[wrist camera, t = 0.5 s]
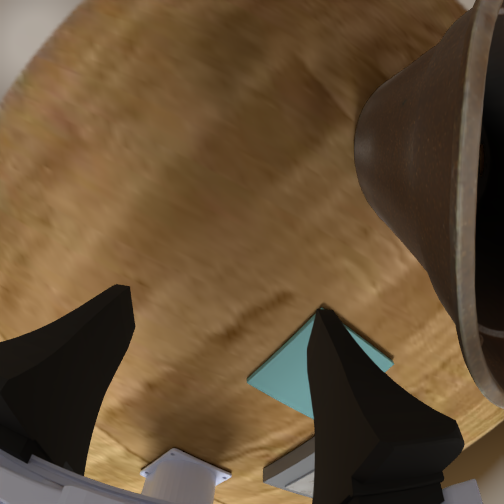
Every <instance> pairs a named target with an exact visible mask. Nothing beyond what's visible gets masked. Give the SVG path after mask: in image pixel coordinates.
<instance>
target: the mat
mask: <svg viewBox="0 0 504 504" xmlns="http://www.w3.org/2000/svg"><path fill="white" fill-rule="evenodd" d="M320 309H324V308H322V307H321V308H320ZM315 315H316V314H315ZM315 315H314V316H313V317H312V318H311V319H310V320H309V321H308V322H307V323H306V324H305V325H304V326H303V327H302V328H301V329H300V330H299V331H298V332H296V333H295V334H294V335H293V336H292V337H291V338H290V339H289V340H288V341H287V342H286V343H285V344H284V345H283V346H282V347H281V348H280V349H279V350H278V351H277V352H276V353H275V354H274V355H272V356H271V357H270V358H269V359H268V360H267V361H266V362H265V363H264V364H263V365H262V366H261V367H260V368H258V369H257V370H256V371H255V372H254V373H253V374H252V375H251V376H250V377H249V378H247V383H248V384H250V385H251V386H253V387H255V388H257V389H258V390H260V391H262V392H264V393H265V394H267V395H269V396H271V397H273V398H274V399H276V400H278V401H280V402H282V403H284V404H285V405H287V406H289V407H291V408H293V409H295V410H297V411H299V412H301V413H302V414H304V415H306V416H308V417H310V418H312V419H314V416H313V409H312V402H311V395H310V389H309V381H308V374H307V346H308V342H309V338H310V335H311V331H312V327H313V323H314V319H315ZM343 325H344V326H345V327H346V329H347V330H348V331H349V333H350V334H351V335H352V337H353V338H354V339H355V341H356V342H357V343H358V344H359V346H360V347H361V348H362V349H363V350H364V352H365V353H366V354H367V355H368V356H369V357H370V358H371V359H372V360H373V362H374V363H375V364H376V365H377V366H378V367H379V368H380V369H381V370H382V371H383V372H384V373H385V372H386V371H387V370H388V369H389V368H390V367H391V366H393V365H394V363H393V361H392V360H391V359H390V358H388V357H387V356H386V355H384V354H383V353H382V352H380V351H379V350H378V349H376V348H375V347H374V346H372V345H371V344H370V343H368V342H367V341H366V340H364V339H363V338H362V337H360V336H359V335H358V334H357V333H355V332H354V331H353V330H351V329H350V328H349V327H347V326H346V325H345V324H343Z"/></svg>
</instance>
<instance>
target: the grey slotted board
mask: <svg viewBox="0 0 504 504" xmlns="http://www.w3.org/2000/svg"><path fill="white" fill-rule="evenodd" d="M314 467H315V436H314V437H313V438H312V439H310V440H309V441H307V442H306V443H304V444H303V445H301V446H300V447H298V448H296V449H295V450H293V451H292V452H290V453H289V454H287V455H285V456H284V457H282V458H281V459H279V460H277V461H276V462H274V463H272V464H271V465H269V466H267V467H265V468H264V469H263V483H266V484H269V485H272V486H275V487H278V488H281V489H284V490H287V491H290V492H293V493H297V494H300V495H303V496H307V497H311V498H313V488H314Z"/></svg>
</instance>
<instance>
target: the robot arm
mask: <svg viewBox="0 0 504 504" xmlns="http://www.w3.org/2000/svg"><path fill="white" fill-rule="evenodd" d="M134 330H135V321H134V314H133V307H132V299H131V292H130V286H125V285H118V284H116V285H114V286H112V287H110V288H108V289H107V290H105V291H104V292H102V293H100V294H99V295H97V296H96V297H94V298H93V299H91V300H90V301H88V302H86V303H85V304H83V305H82V306H80V307H79V308H77V309H75V310H73V311H72V312H70V313H68V314H67V315H65V316H63V317H61V318H60V319H58V320H56V321H54V322H52V323H50V324H48V325H46V326H44V327H42V328H40V329H37V330H35V331H32V332H30V333H27V334H24V335H22V336H19V337H16V338H13V339H10V340H6V341H3V342H0V504H213V500H214V492H215V486H216V485H218V484H220V483H221V482H223V481H225V480H227V479H229V478H231V473H229V472H227V471H224V470H222V469H220V468H217V467H215V466H213V465H210V464H208V463H206V462H204V461H201V460H199V459H197V458H195V457H193V456H191V455H189V454H187V453H185V452H183V451H181V450H179V449H176V448H172V449H170V450H169V451H168V452H166V453H165V454H164V455H162V456H161V457H160V458H158V459H157V460H156V461H154V462H153V463H151V464H150V465H149V466H147V467H146V468H144V469H143V470H141V471H140V474H141V475H142V476H144V477H146V480H145V483H144V486H143V490H142V493H141V494H138V493H134V492H131V491H127V490H124V489H120V488H117V487H114V486H110V485H107V484H104V483H101V482H98V481H95V480H93V479H90V478H87V477H84V472H85V466H86V460H87V454H88V450H89V445H90V441H91V437H92V433H93V429H94V426H95V422H96V419H97V416H98V413H99V410H100V407H101V404H102V401H103V398H104V395H105V393H106V391H107V389H108V387H109V385H110V383H111V381H112V379H113V377H114V375H115V373H116V371H117V369H118V367H119V365H120V363H121V361H122V359H123V357H124V355H125V353H126V351H127V349H128V347H129V344H130V341H131V339H132V336H133V333H134ZM307 374H308V381H309V389H310V395H311V402H312V409H313V416H314V427H315V467H314V488H313V501H312V504H483V503H482V499H481V496H480V492H479V489H478V485H477V482H476V480H475V479H471V480H468V481H465V482H462V483H458V484H454V485H451V486H449V487H447V488H444V489H443V490H442V488H441V484H440V482H442V481H443V480H444V476H443V472H442V471H443V470H444V469H445V468H446V467H447V466H448V465H449V464H450V463H451V462H452V461H453V460H454V459H455V458H457V456H458V455H459V454H460V453H461V451H462V449H463V447H464V440H463V437H462V435H461V432H460V429H459V427H458V424H457V422H456V420H454V419H452V418H450V417H448V416H446V415H444V414H442V413H440V412H438V411H436V410H434V409H432V408H431V407H429V406H428V405H426V404H424V403H423V402H421V401H420V400H418V399H417V398H415V397H414V396H412V395H411V394H410V393H408V392H407V391H406V390H404V389H403V388H402V387H400V386H399V385H398V384H397V383H396V382H394V381H393V380H392V379H391V378H390V377H389V376H388V375H387V374H386V373H384V372H383V371H382V370H381V369H380V368H379V367H378V366H377V365H376V364H375V363H374V362H373V360H372V359H371V358H370V357H369V356H368V355H367V354H366V353H365V352H364V350H363V349H362V348H361V347H360V346H359V344H358V343H357V342H356V341H355V339H354V338H353V337H352V335H351V334H350V333H349V331H348V330H347V329H346V327H345V326H344V325H343V323H342V322H341V320H340V319H339V318H338V316H337V315H336V314H335V312H334V311H333V310H326V309H317V311H316V315H315V319H314V323H313V327H312V331H311V335H310V338H309V342H308V346H307Z"/></svg>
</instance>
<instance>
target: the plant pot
mask: <svg viewBox="0 0 504 504" xmlns="http://www.w3.org/2000/svg"><path fill="white" fill-rule="evenodd" d="M480 144H483V146H484V154H485V155H484V171H483V174H482V177H481V176H480V172H479V164H480V159H479V155H480V152H479V146H480ZM354 157H355V166H356V172H357V176H358V180H359V184H360V187H361V189H362V191H363V194H364V196H365V198H366V200H367V202H368V203H369V204H370V206H371V207H372V208H373V210H374V211H375V213H376V214H377V215H378V216H379V217H380V219H381V220H382V221H384V222H385V223H386V224H387V226H388V227H389V228H390V229H391V230H392V231H393V232H394V233H395V235H396V236H397V237H398V238H399V239H400V240H401V241H402V242H403V244H404V245H405V246H406V247H407V248H408V249H409V250H410V252H411V253H412V254H413V255H414V256H415V258H416V259H417V260H418V261H419V263H420V264H421V265H422V266H423V267H424V269H425V270H426V271H427V272H428V275H429V277H430V280H431V282H432V285H433V287H434V290H435V292H436V294H437V296H438V298H439V300H440V301H441V303H442V305H443V306H444V308H445V309H446V311H447V312H448V314H449V315H450V317H451V318H452V320H453V321H454V323H455V325H456V330H457V335H458V340H459V344H460V347H461V351H462V354H463V358H464V361H465V363H466V366H467V368H468V370H469V372H470V374H471V376H472V378H473V380H474V382H475V383H476V385H477V387H478V388H479V390H480V391H481V392H482V394H483V395H484V396H485V397H486V398H487V399H488V400H489V401H490V402H491V403H493V404H494V405H496V406H498V407H500V408H503V409H504V0H476V1H475V3H474V6H473V8H471V9H470V10H469V11H467V12H466V13H465V14H464V15H462V16H461V17H460V18H459V19H458V20H456V21H455V22H454V23H453V25H452V26H451V27H450V28H449V29H448V31H447V32H446V33H445V35H444V36H443V38H442V39H441V41H440V43H438V44H437V45H436V46H434V47H433V48H431V49H430V50H429V51H427V52H426V53H424V54H423V55H422V56H420V57H419V58H418V59H417V60H415V61H414V62H413V63H411V64H410V65H409V66H407V67H406V68H405V69H403V70H402V71H400V72H399V73H398V74H396V75H395V76H393V77H392V78H391V79H389V80H387V81H386V82H385V83H383V84H382V85H381V86H380V87H379V88H378V89H377V90H376V91H375V92H374V93H373V95H372V96H371V97H370V98H369V99H368V101H367V102H366V104H365V106H364V108H363V110H362V112H361V115H360V117H359V120H358V124H357V129H356V134H355V143H354Z"/></svg>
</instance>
